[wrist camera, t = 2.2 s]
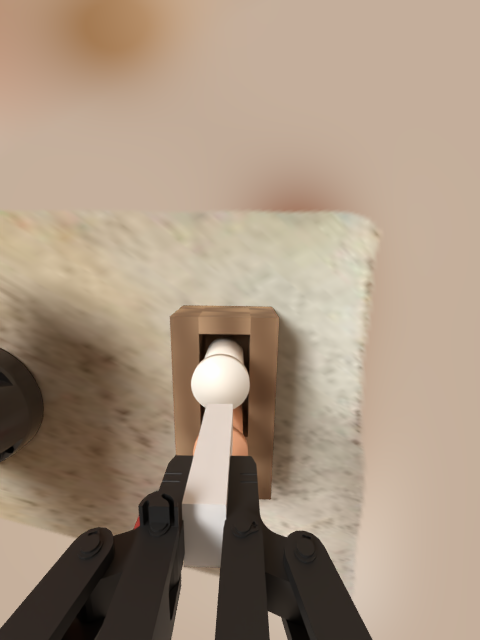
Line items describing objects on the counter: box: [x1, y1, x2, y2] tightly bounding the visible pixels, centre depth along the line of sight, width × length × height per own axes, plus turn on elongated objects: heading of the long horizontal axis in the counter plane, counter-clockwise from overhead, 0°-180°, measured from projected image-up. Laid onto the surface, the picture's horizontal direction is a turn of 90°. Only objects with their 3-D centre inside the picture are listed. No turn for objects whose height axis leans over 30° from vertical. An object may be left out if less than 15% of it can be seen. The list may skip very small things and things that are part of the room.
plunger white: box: [191, 337, 250, 409], centre depth 24 cm, size 4×4×7 cm
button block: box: [170, 306, 279, 499], centre depth 30 cm, size 10×20×6 cm, turn 179°
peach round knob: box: [193, 404, 248, 456], centre depth 25 cm, size 4×4×7 cm
